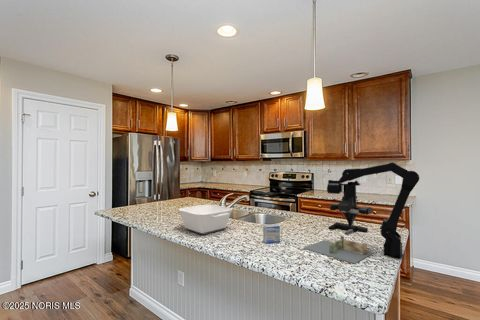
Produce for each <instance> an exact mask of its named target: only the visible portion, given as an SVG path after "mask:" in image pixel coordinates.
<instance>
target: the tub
mask: <svg viewBox="0 0 480 320" xmlns="http://www.w3.org/2000/svg"><path fill="white" fill-rule="evenodd" d="M177 210H178V212H179V216H180V218H181V220H182V224H183V227H184V228H185V230H186V231H187V230H188V231H190V232H193V233H195V234H199V235H206V234H207V235H208V234H212V233H216V232H220V231H223V230H225V229H226V227H227V225H228V223H229V219H230V216H231V214H232V210H233V208H231V207H227V206H222V205H216V204H200V205H192V206H186V207H185V206H184V207H180V208H178V209H177Z"/></svg>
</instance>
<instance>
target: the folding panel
mask: <svg viewBox="0 0 480 320" xmlns="http://www.w3.org/2000/svg"><path fill="white" fill-rule="evenodd" d="M341 248H342V239H341V238H340V239H337V240H334V241H331V242H330V243H329V252H330V253H333V252H335V251H337V250H339V249H341Z"/></svg>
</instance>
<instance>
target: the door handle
mask: <svg viewBox="0 0 480 320" xmlns="http://www.w3.org/2000/svg"><path fill="white" fill-rule="evenodd" d="M328 229H329V230H332V231H333V230H334V231H335V230H341V231H345V232H344V235H347V236H348V235H350V234H353V233H356V232H361V233H368V231H369V230H368V229H369V228H368V227H364V226H360V225H355V224H353V225H352V226H351V227H350V226H349V224H348V223H342V222H337V221H336V222H335V223H333V224H331V225H329V226H328Z"/></svg>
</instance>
